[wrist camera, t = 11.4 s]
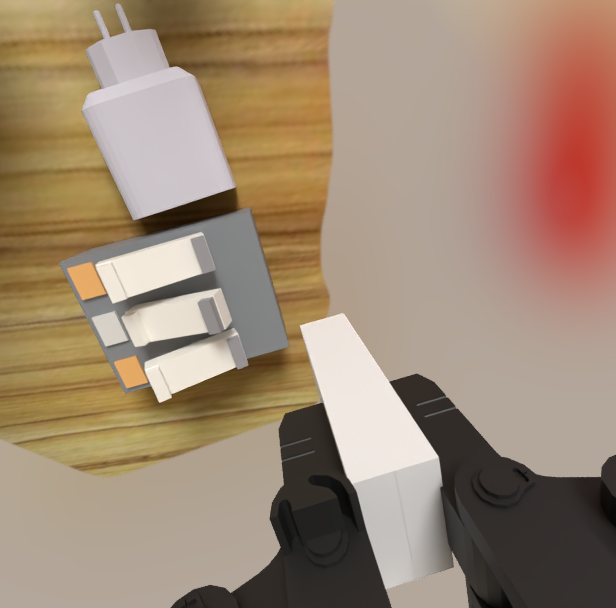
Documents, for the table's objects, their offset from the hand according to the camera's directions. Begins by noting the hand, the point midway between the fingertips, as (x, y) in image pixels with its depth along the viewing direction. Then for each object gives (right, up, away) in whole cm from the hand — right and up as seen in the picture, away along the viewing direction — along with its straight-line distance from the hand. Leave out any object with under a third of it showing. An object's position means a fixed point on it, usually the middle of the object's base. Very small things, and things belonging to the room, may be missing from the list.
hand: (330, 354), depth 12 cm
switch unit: (-13, +3, +25) cm, 28 cm away
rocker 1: (-13, +5, +16) cm, 21 cm away
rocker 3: (-10, -3, +19) cm, 22 cm away
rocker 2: (-12, +1, +18) cm, 21 cm away
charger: (-14, +18, +20) cm, 31 cm away
